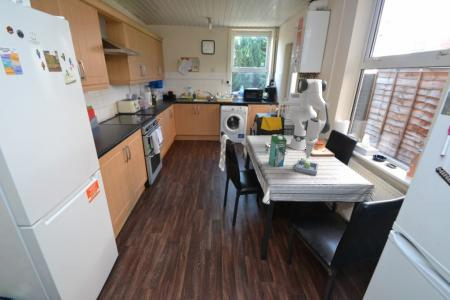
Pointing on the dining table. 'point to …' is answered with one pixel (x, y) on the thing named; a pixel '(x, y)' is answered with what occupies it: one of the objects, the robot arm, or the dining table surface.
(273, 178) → the dining table surface
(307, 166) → the cucumber chunk
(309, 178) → the dining table surface
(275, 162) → the milk carton
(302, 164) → the bin
